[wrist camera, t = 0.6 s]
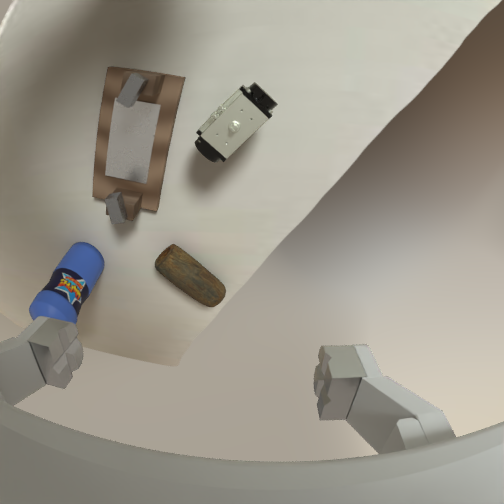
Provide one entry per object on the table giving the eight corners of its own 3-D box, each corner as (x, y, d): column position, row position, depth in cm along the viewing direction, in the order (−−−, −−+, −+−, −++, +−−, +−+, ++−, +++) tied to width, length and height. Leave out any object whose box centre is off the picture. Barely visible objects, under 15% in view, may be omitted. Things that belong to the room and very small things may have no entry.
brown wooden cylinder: (154, 255, 61) (146, 276, 56) (175, 235, 59) (167, 255, 53) (209, 295, 68) (206, 318, 62) (231, 278, 65) (230, 300, 59)
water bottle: (81, 233, 58) (23, 319, 37) (112, 262, 62) (67, 354, 42) (62, 255, 61) (9, 337, 41) (91, 282, 65) (48, 367, 45)
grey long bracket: (121, 67, 39) (102, 70, 33) (168, 74, 40) (155, 76, 35) (104, 199, 52) (88, 218, 46) (143, 208, 54) (131, 228, 48)
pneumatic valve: (274, 98, 45) (281, 109, 35) (222, 147, 49) (215, 172, 39) (249, 75, 42) (249, 78, 32) (197, 126, 47) (183, 145, 37)
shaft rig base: (111, 66, 40) (94, 68, 35) (185, 77, 42) (176, 79, 37) (95, 193, 53) (81, 208, 48) (158, 207, 55) (149, 224, 50)
